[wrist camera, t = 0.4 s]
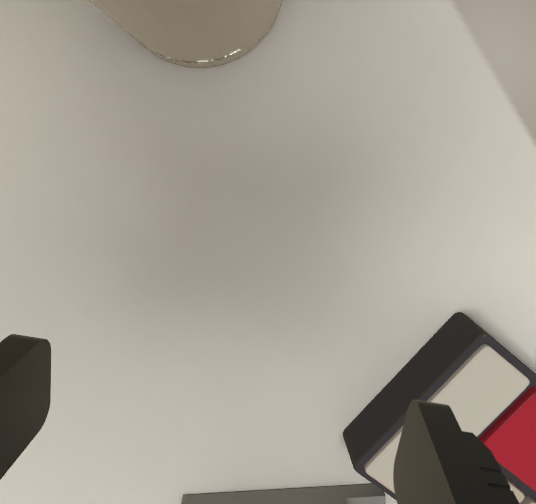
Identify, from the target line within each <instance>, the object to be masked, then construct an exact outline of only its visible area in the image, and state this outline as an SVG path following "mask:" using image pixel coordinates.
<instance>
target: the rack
mask: <svg viewBox="0 0 536 504" xmlns="http://www.w3.org/2000/svg"><path fill="white" fill-rule="evenodd" d="M182 504H385V493H384V491H383V490H381V489H380V488H379V487H377V486H376V485H374V484H361V485H344V486H327V487H310V488H293V489H276V490H259V491H242V492H225V493H208V494H191V495H183V499H182Z"/></svg>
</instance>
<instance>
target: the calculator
mask: <svg viewBox="0 0 536 504" xmlns="http://www.w3.org/2000/svg"><path fill="white" fill-rule="evenodd" d="M414 399H415V400H421V401H427V402H434V403H440V404H446V405H449V406H450V408H451V409H452V411H453V413H454V416H455V418H456V420H457V422H458V424H459V426H460V428H461V430H462V431H465V432H471V433H473V434H474V435H475V436H476V437H477V438H478V439H479V440H481V441H482V442H483V443H484V444H485V445H486V446H487V447H488V448H489V449H490V450H491V451H492V453H493V455H494V457H495V459H496V461H497V462H498V464H499V466H500V468H501V470H502V472H501V473H502V474H504V475H505V477H506V479H507V481H508V483H509V485H510V490H511V491H513V492H514V494H515V496H516V498H517V500H518V501H519V503H520V504H536V374H535V373H534V372H533V371H531V370H530V369H529V368H528V367H527V366H525V365H524V364H523V363H522V362H521V361H520V360H518V359H517V358H516V357H515V356H514V355H513V354H511V353H510V352H509V351H508V350H507V349H505V348H504V347H503V346H502V345H501V344H500V343H498V342H497V341H496V340H495V339H494V338H493V337H491V336H490V335H489V334H488V333H487V332H485V331H484V330H483V329H482V328H481V327H479V326H478V325H477V324H476V323H475V322H474V321H472V320H471V319H470V318H469V317H467V316H466V315H465V314H463V313H461V312H458V313H455V314H454V315H453V316H452V317H451V318H450V319H449V320H448V321H447V322H446V323H445V324H444V325H443V326H442V327H441V328H440V329H439V330H438V331H437V332H436V334H435V335H434V336H433V337H432V338H431V339H430V340H429V341H428V342H427V343H426V344H425V345H424V346H423V347H422V348H421V349H420V350H419V351H418V353H417V354H416V355H415V356H414V357H413V358H412V359H411V360H410V361H409V362H408V363H407V364H406V365H405V366H404V367H403V368H402V369H401V371H400V372H399V373H398V374H397V375H396V376H395V377H394V378H393V379H392V380H391V381H390V382H389V383H388V384H387V385H386V386H385V387H384V388H383V390H382V391H381V392H380V393H379V394H378V395H377V396H376V397H375V398H374V399H373V400H372V401H371V402H370V403H369V404H368V405H367V406H366V408H365V409H364V410H363V411H362V412H361V413H360V414H359V415H358V416H357V417H356V418H355V419H354V420H353V421H352V422H351V423H350V424H349V425H348V427H347V428H346V429H345V430H344V432H343V437H344V440H345V443H346V446H347V449H348V452H349V455H350V458H351V461H352V464H353V467H354V469H355V471H356V472H358V473H359V474H360V475H362V476H363V477H365V478H366V479H367V480H369V481H370V482H372V483H373V484H374V485H376V486H377V487H379V488H380V489H381V490H383V491H384V492H386V493H387V494H388V495H390V496H391V497H393V498H394V499H395V500H397V499H396V495H395V491H394V484H393V469H394V461H395V456H396V452H397V449H398V445H399V441H400V437H401V433H402V429H403V425H404V422H405V418H406V414H407V410H408V407H409V404H410V402H411V401H412V400H414Z"/></svg>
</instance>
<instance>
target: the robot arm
mask: <svg viewBox="0 0 536 504" xmlns="http://www.w3.org/2000/svg"><path fill="white" fill-rule="evenodd" d="M90 1H91V2H92V3H94V4H95V5H96V6H97V7H98V8H99V9H101V10H102V11H103V12H104V13H105V14H107V15H108V16H109V17H110V18H111V19H112V20H114V21H115V22H116V23H117V24H118V25H120V26H121V27H122V28H123V29H124V30H125V31H126V32H128V33H129V34H130V35H131V36H133V37H134V38H135V39H136V40H138V41H139V42H140V43H141V44H143V45H144V46H145V47H146V48H147V49H149V50H150V51H151V52H152V53H154V54H156V55H158V56H159V57H161V58H163V59H165V60H167V61H169V62H172V63H176V64H179V65H183V66H186V67H202V68H206V67H212V66H218V65H223V64H225V63H228V62H230V61H233V60H235V59H238V58H240V57H241V56H242V55H244V54H245V53H247V52H248V51H250V50H251V49H252V48H254V47H255V46H256V45H257V44H258V43H259V41H260V40H261V39H262V38H263V37H264V36H265V35H266V34H267V32H268V31H269V29H270V27H271V26H272V24H273V22H274V21H275V19H276V17H277V14H278V11H279V9H280V6H281V3H282V0H90ZM50 387H51V346H50V343H49V341H48V340H46V339H41V338H35V337H28V336H22V335H16V334H12V335H9V336H8V337H6V338H5V339H4V340H3V341H1V342H0V479H1V478H2V477H3V476H4V474H5V473H6V472H7V471H8V469H9V468H10V467H11V466H12V465H13V463H14V462H15V461H16V460H17V458H18V457H19V456H20V455H21V453H22V452H23V451H24V450H25V448H26V447H27V446H28V445H29V443H30V442H31V441H32V440H33V438H34V437H35V436H36V435H37V433H38V432H39V431H40V429H41V428H42V426H43V424H44V422H45V420H46V417H47V414H48V411H49V407H50ZM501 472H502V470H501V468H500V466H499V464H498V462H497V461H496V459H495V457H494V455H493V453H492V451H491V450H490V449H489V448H488V447H487V446H486V445H485V444H484V443H483V442H482V441H481V440H479V439H478V438H477V437H476V436H475V435H474V434H473V433H471V432H465V431H462V430H461V428H460V426H459V424H458V422H457V420H456V418H455V416H454V413H453V411H452V409H451V408H450V406H449V405H446V404H440V403H434V402H427V401H421V400H415V399H414V400H412V401H411V402H410V404H409V407H408V410H407V414H406V418H405V422H404V425H403V429H402V433H401V437H400V441H399V445H398V449H397V452H396V456H395V461H394V469H393V484H394V491H395V495H396V499H397V503H398V504H520V503H519V501H518V500H517V498H516V496H515V494H514V492H513V491H511V490H510V485H509V483H508V481H507V479H506V477H505V475H504V474H502V473H501Z"/></svg>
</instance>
